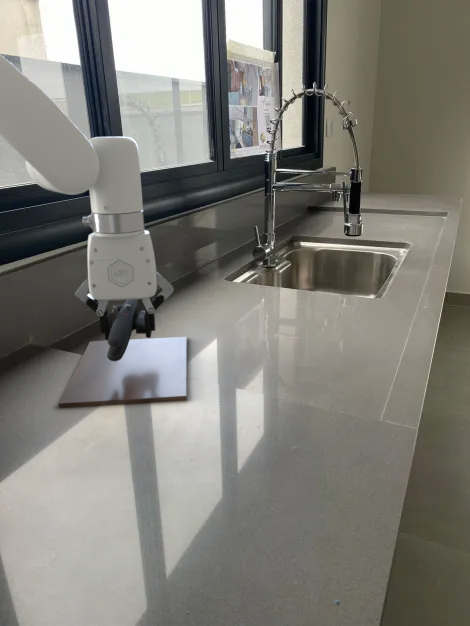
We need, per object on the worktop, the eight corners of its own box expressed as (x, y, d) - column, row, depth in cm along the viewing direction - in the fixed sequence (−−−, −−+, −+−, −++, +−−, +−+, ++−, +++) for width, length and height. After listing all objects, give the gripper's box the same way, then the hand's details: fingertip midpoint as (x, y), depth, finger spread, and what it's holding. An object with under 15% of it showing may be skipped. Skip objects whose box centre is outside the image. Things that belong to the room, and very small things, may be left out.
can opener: (120, 323, 89) (117, 293, 87) (159, 323, 89) (156, 293, 87) (88, 364, 72) (84, 328, 70) (136, 364, 72) (132, 328, 70)
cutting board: (59, 413, 70) (58, 403, 70) (90, 348, 93) (89, 341, 92) (187, 405, 72) (186, 396, 71) (187, 343, 94) (186, 336, 94)
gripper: (53, 229, 70) (69, 347, 76) (175, 225, 72) (182, 341, 77) (66, 222, 77) (79, 330, 83) (176, 218, 79) (182, 325, 84)
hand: (129, 334), depth 80 cm, fingers closed on can opener, 5 cm apart
